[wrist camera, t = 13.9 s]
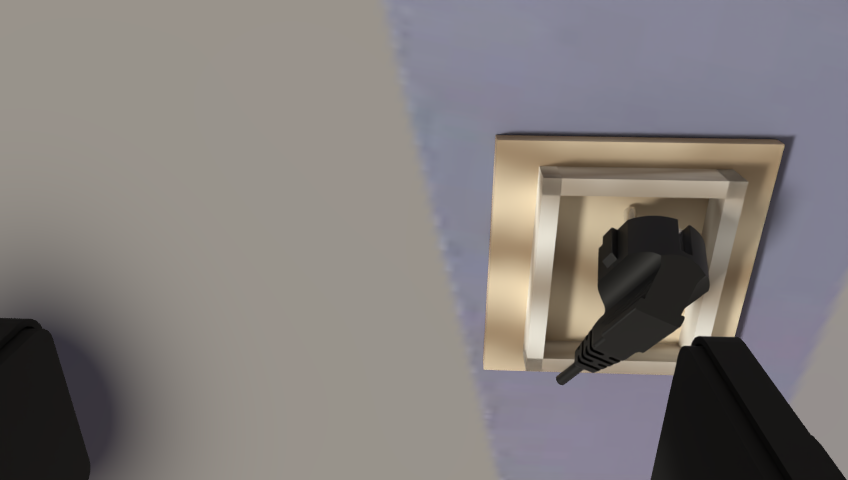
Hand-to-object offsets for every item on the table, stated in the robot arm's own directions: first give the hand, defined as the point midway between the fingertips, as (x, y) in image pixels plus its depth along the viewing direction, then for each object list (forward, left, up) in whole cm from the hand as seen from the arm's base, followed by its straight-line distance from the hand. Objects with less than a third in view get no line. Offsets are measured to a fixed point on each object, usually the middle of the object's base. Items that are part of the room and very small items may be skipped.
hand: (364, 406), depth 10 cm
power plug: (+13, +11, -26) cm, 32 cm away
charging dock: (+12, +12, -28) cm, 33 cm away
